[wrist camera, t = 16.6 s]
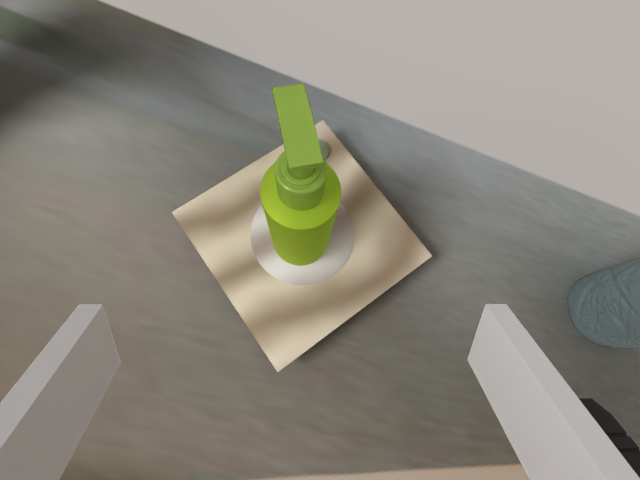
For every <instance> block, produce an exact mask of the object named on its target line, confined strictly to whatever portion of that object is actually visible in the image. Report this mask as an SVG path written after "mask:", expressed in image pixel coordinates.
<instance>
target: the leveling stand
mask: <svg viewBox="0 0 640 480" xmlns="http://www.w3.org/2000/svg"><path fill="white" fill-rule="evenodd" d="M315 128H316V132H317V136H318V141H319V145H320V149H321V154H322V156H323V158H324V159H325V161H326V163H327V164H328V165H329V166H330V167H331V168H332V169H333V170H334V171H335V173H336V175H337V176H338V179H339V181H340V185H341V200H340V204H339V207H338V210H337V214H336V217H335V221H334V224H333V228H332V231H331V235H330V238H329V242H328V245H327V248H326V250H325V252H324V254H323V255H322V256H321V257H320V258H319V259H318V260H317V261H315V262H314V263H312V264H309V265H304V266H296V265H292V264H289V263H287V262H285V261H284V260H283V259H281V258H280V257H279V255H278V254H277V253H276V251H275V249H274V246H273V242H272V238H271V235H270V231H269V227H268V224H267V220H266V216H265V213H264V209H263V205H262V202H261V197H260V186H261V182H262V179H263V177H264V175H265V173H266V171H267V170H268V169H269V168H270V166H272V165H273V164H274V163H275V162H276V161H277V159H278V157H279V156H280V154H281V153H282V152H284V151H285V148H284V144H283V145H281V146H280V147H278V148H276V149H275V150H273V151H271V152H270V153H268V154H266V155H265V156H263V157H262V158H260V159H258V160H257V161H255V162H253V163H252V164H250V165H248V166H247V167H245V168H243V169H242V170H240V171H239V172H237V173H235V174H234V175H232V176H230V177H229V178H227V179H225V180H224V181H222V182H220V183H219V184H217V185H216V186H214V187H212V188H211V189H209V190H207V191H206V192H204V193H202V194H201V195H199V196H197V197H196V198H194V199H193V200H191V201H189V202H188V203H186V204H184V205H183V206H181V207H179V208H178V209H176V210H174V211H173V212H172V213H173V215H174V216H175V218H176V219H177V221H178V222H179V224H180V225H181V227H182V228H183V230H184V231H185V233H186V234H187V236H188V237H189V239H190V240H191V242H192V244H193V245H194V247H195V248H196V250H197V251H198V253H199V254H200V256H201V257H202V259H203V260H204V262H205V263H206V265H207V266H208V268H209V269H210V271H211V272H212V274H213V275H214V277H215V278H216V280H217V281H218V283H219V284H220V286H221V287H222V289H223V290H224V292H225V293H226V295H227V296H228V298H229V299H230V301H231V302H232V304H233V305H234V307H235V308H236V310H237V312H238V313H239V315H240V316H241V318H242V319H243V321H244V322H245V324H246V325H247V327H248V328H249V330H250V331H251V333H252V334H253V336H254V337H255V339H256V340H257V342H258V343H259V345H260V346H261V348H262V349H263V351H264V352H265V354H266V355H267V357H268V358H269V360H270V361H271V363H272V364H273V366H274V367H275V369H276V370H277V372H279V371H280V370H281V369H283V368H284V367H285V366H287V365H288V364H289V363H291V362H292V361H293V360H295V359H296V358H297V357H299V356H300V355H301V354H303V353H304V352H305V351H307V350H308V349H309V348H311V347H312V346H313V345H315V344H316V343H317V342H319V341H320V340H321V339H323V338H324V337H325V336H327V335H328V334H329V333H331V332H332V331H333V330H335V329H336V328H337V327H339V326H340V325H341V324H343V323H344V322H345V321H347V320H348V319H349V318H351V317H352V316H353V315H355V314H356V313H357V312H359V311H360V310H361V309H363V308H364V307H365V306H367V305H368V304H369V303H371V302H372V301H373V300H375V299H376V298H377V297H379V296H380V295H381V294H383V293H384V292H385V291H387V290H388V289H389V288H391V287H392V286H393V285H394V284H396V283H397V282H398V281H400V280H401V279H402V278H404V277H405V276H406V275H408V274H409V273H410V272H412V271H413V270H414V269H416V268H417V267H418V266H420V265H421V264H422V263H424V262H425V261H426V260H428V259H429V258H430V257H432V255H431V254H430V253H429V251H428V250H427V249H426V248H425V246H424V245H423V244H422V243H421V241H420V240H419V239H418V238H417V236H416V235H415V234H414V233H413V231H412V230H411V229H410V228H409V226H408V225H407V224H406V223H405V221H404V220H403V219H402V218H401V216H400V215H399V214H398V213H397V211H396V210H395V209H394V208H393V206H392V205H391V204H390V203H389V202H388V200H387V199H386V198H385V197H384V195H383V194H382V193H381V192H380V190H379V189H378V188H377V187H376V185H375V184H374V183H373V182H372V180H371V179H370V178H369V177H368V175H367V174H366V173H365V172H364V170H363V169H362V168H361V167H360V165H359V164H358V163H357V162H356V160H355V159H354V158H353V157H352V156H351V154H350V153H349V152H348V151H347V149H346V148H345V147H344V146H343V144H342V143H341V142H340V141H339V139H338V138H337V137H336V136H335V134H334V133H333V132H332V131H331V129H330V128H329V127H328V126H327V124H326V123H325V122H324V121H323V120H322V121H321V122H319V123H317V124H316V125H315Z"/></svg>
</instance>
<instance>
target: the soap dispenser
mask: <svg viewBox="0 0 640 480" xmlns="http://www.w3.org/2000/svg"><path fill="white" fill-rule="evenodd" d="M272 92H273V98H274V102H275V107H276V111H277V116H278V120H279V125H280V130H281V134H282V139H283V144H284V148H285V151H284V152H282V153H281V154H280V156H279V157H278V159H277V161H276V162H275V163H274V164H273V165H272V166H270V168H269V169H268V170H267V171H266V173H265V175H264V177H263V179H262V182H261V186H260V197H261V202H262V205H263V209H264V213H265V216H266V220H267V224H268V227H269V231H270V235H271V238H272V242H273V246H274V249H275V251H276V253H277V254H278V255H279V257H280V258H281V259H283V260H284V261H285V262H287V263H289V264H292V265H296V266H304V265H309V264H312V263H314V262H315V261H317V260H318V259H319V258H320V257H321V256H322V255H323V254H324V252H325V250H326V248H327V245H328V242H329V238H330V235H331V231H332V228H333V224H334V221H335V217H336V214H337V210H338V207H339V204H340V200H341V185H340V181H339V179H338V176H337V175H336V173H335V171H334V170H333V169H332V168H331V167H330V166H329V165H328V164H327V163H326V161H325V159H324V158H323V156H322V154H321V149H320V145H319V141H318V136H317V132H316V128H315V123H314V119H313V115H312V111H311V107H310V104H309V100H308V97H307V94H306V90H305V87H304V84H303V83H301V84H294V85H287V86H281V87H274V88H272Z"/></svg>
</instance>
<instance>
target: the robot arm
mask: <svg viewBox="0 0 640 480" xmlns="http://www.w3.org/2000/svg"><path fill="white" fill-rule="evenodd" d="M467 360H468V362H469V364H470V366H471V368H472V370H473V372H474V374H475V375H476V377H477V379H478V381H479V383H480V385H481V387H482V389H483V391H484V393H485V395H486V397H487V399H488V401H489V402H490V404H491V406H492V408H493V410H494V412H495V414H496V416H497V418H498V420H499V422H500V424H501V426H502V428H503V429H504V431H505V433H506V435H507V437H508V439H509V441H510V443H511V445H512V447H513V449H514V451H515V453H516V455H517V456H518V458H519V460H520V462H521V464H522V466H523V468H524V470H525V472H526V474H527V476H528V478H529V480H640V451H639V447H638V446H637V445H636V444H635V443H634V441H633V440H632V439H631V438H630V437H628V436H627V435H626V432H625V430H624V429H623V428H622V427H621V425H620V424H619V423H618V422H617V421H616V419H615V418H614V417H613V416H612V415H611V414H610V413H609V412H608V411H607V410H605V409H604V408H603V407H602V406H600V405H599V404H598V403H597V402H595V401H594V400H593V399H592V398H590V399H579V398H578V397H577V396H576V394H575V393H574V392H573V391H572V389H571V388H570V387H569V385H568V384H567V383H566V381H565V380H564V379H563V377H562V376H561V375H560V374H559V372H558V371H557V370H556V368H555V367H554V366H553V364H552V363H551V362H550V361H549V359H548V358H547V357H546V355H545V354H544V353H543V351H542V350H541V349H540V347H539V346H538V345H537V344H536V342H535V341H534V340H533V338H532V337H531V336H530V334H529V333H528V332H527V331H526V329H525V328H524V327H523V325H522V324H521V323H520V321H519V320H518V319H517V317H516V316H515V315H514V314H513V312H512V311H511V310H510V308H509V307H508V306H507V304H485V307H484V310H483V313H482V316H481V319H480V322H479V325H478V328H477V332H476V335H475V338H474V341H473V344H472V347H471V350H470V353H469V356H468V359H467ZM120 365H121V361H120V358H119V355H118V351H117V348H116V345H115V342H114V338H113V335H112V332H111V329H110V325H109V322H108V319H107V316H106V312H105V309H104V306H103V304H79V305H78V306H77V308H76V309H75V310H74V311H73V313H72V314H71V315H70V316H69V318H68V319H67V320H66V321H65V323H64V324H63V325H62V326H61V328H60V329H59V330H58V331H57V333H56V334H55V335H54V336H53V338H52V339H51V340H50V341H49V343H48V344H47V345H46V346H45V348H44V349H43V350H42V351H41V353H40V354H39V355H38V356H37V358H36V359H35V360H34V361H33V363H32V364H31V365H30V366H29V368H28V369H27V370H26V371H25V373H24V374H23V375H22V376H21V378H20V379H19V380H18V381H17V383H16V384H15V385H14V386H13V388H12V389H11V390H10V391H9V393H8V394H7V395H6V396H5V398H4V399H3V400H2V401H1V403H0V480H60V478H61V476H62V474H63V472H64V470H65V468H66V466H67V464H68V463H69V461H70V459H71V457H72V455H73V453H74V451H75V449H76V448H77V446H78V444H79V442H80V440H81V438H82V436H83V434H84V432H85V431H86V429H87V427H88V425H89V423H90V421H91V419H92V417H93V415H94V414H95V412H96V410H97V408H98V406H99V404H100V402H101V400H102V399H103V397H104V395H105V393H106V391H107V389H108V387H109V385H110V383H111V382H112V380H113V378H114V376H115V374H116V372H117V370H118V368H119V367H120Z"/></svg>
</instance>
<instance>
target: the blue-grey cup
mask: <svg viewBox="0 0 640 480" xmlns="http://www.w3.org/2000/svg"><path fill="white" fill-rule="evenodd" d="M568 308H569V314H570V316H571V319H572V322H573V324H574V326H575V327H576V328H577V330H578V331H579V332H580V333H581V334H582V335H583V336H584V337H586V338H587V339H588V340H590V341H592V342H593V343H596V344H599V345H601V346H606V347H615V348H628V349H633V348H635V349H640V258H638V259H635V260H632V261H629V262H626V263H623V264H620V265H617V266H616V267H612V268H609V269H606V270H603V271H600V272H597V273H593V274H590V275H588V276H585V277H583V278H581V279H580V280H578V281H577V282H576V283H575V284H574V285H573V287H572V288H571V291H570V292H569V298H568Z"/></svg>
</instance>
